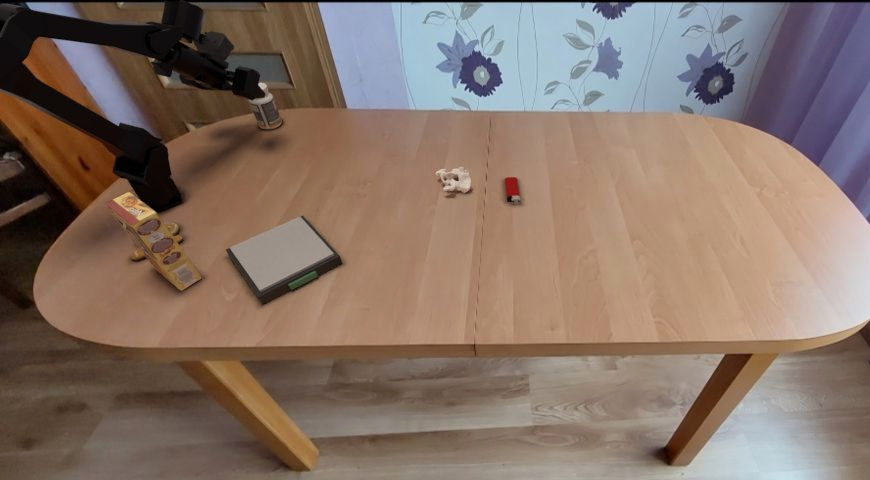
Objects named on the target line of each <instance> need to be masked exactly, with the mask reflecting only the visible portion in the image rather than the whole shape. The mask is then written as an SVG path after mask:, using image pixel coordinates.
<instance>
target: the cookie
mask: <svg viewBox="0 0 870 480" xmlns="http://www.w3.org/2000/svg"><path fill="white" fill-rule="evenodd" d="M164 224H165V225H166V227H167V228H168V230H169V231H170V232H171V234H172V235H173V237H174V238H175V240H176V241H177V243H178V244H180V243H181V242H182V241H183V237H182V235H178V233H179V232H180V227H179V225H178V224H177V223H176V222H164ZM129 257H130V259H131V260H132V261H139V260H143V259H144V258H146V256H145V255H144V254H143V253H142V252H141V250H140V249H139V248H138V249H137V250H135V251H134V252H132V253H131V254H130V256H129Z"/></svg>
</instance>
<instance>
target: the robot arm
mask: <svg viewBox="0 0 870 480" xmlns="http://www.w3.org/2000/svg"><path fill="white" fill-rule="evenodd" d="M163 3H164V6H163V12H162V15H161V21H160V22H158V21H157V22H156V21H151V20H149V21H145V22H140V21H135V20H128V19H124V20H121V19H119V20H116V19H115V20H114V19H113V20H112V19H111V20H104V21H103V20H101V21H100V20H99V21H98V20H93V19H92V20H91V19H85V18H79V17H74V16H69V15H64V14H57V13H52V12H47V11H41V10H35V9H31V8H30V7H26V6H21V5H16V4H10V3H1V4H0V93H2V94H4V95H5V94H6V95H8V96H11V97H14V98H16V99H17V100H19V101H21V102H23V103H25V104H27V105H29V106H31V107H33V108H35V109H36V110H39V111H40V112H42V113H44V114H46V115H48V116H50V117H52V118H54V119H55V120H57V121H60V122H61V123H63V124H65V125H67V126H69V127H70V128H73V129H74V130H76V131H79V132H81V133H82V134H84V135H86V136H88V137H89V138H92V139H94V140H95V141H98V143H100V144H102V145H103V146H104V148H105V149H106V150H107V151H108V152H109V153H111V154H112V155H113V156H114V157H115V158H114V162H113V166H112V174H114V175H115V176H116V177H118V178H119V179H122V180H127V182H128V184H129V186H130V187H131V188H132V190H133V192H134V193H135V194H136V197H137V198H138V199H139V200H141V201H142V202H144V203H145V204H146V205H147V206H149V207H150V208H152V209H153V210H154V211H155V212H157V213H159V212H161V211H164V210H166V209H170V208H172V207H176V206H177V205H180V204H182V203H184V200H183V198H182V197H181V196H182V192H181V191H180V190H179V188H178V186H177V184H176V182H175V181H174V179H173V178H172V175H173V174H172V168H171V164H170V159H169V155H170V154H169V148H168V147H167V145H165V144H164V143H163V142H162V141H163V138H160V137H156V136H154V135H153V134H152V133H151V132H149V131H148V130H146V128H143V127H140V126H135V125H132V124H129V123H124V122H119V123H118V124H116V123H115V122H112V121H111V120H109V119H108V118H105V117H104V116H102V115H100V114H98V113H97V112H96V111H93V110H92V109H90V108H88V107H87V106H85V105H83V104H81V103H80V102H78V101H77V100H75V99H73V98H71V97H70V96H67V95H66V94H64V93H62V92H61V91H59V90H57V89H56V88H54V87H52V86H50V85H48V84H47V83H45V82H44V81H42V80H41V79H40V78H38V77H37V76H36V75H35V74H34V73H33V71H32V70H31V69H29V67H28V66H27V65H26V64H25V63H24V61H26V59H28V57H29V55H30V54H31V53H30V52H31V50H32V48H33V45H34V44H35V41H36V40H37V39H39V38H44V39H45V38H46V39H52V40H60V41H67V42H74V43H83V44H91V45H97V46H104V47H109V48H111V49H113V50H117V51H120V52H124V53H126V54H130V55H134V56H139V57H143V58H149V59H153V60H152V61H150V64H151V66H152V69H153V72H154V74H155V75H157V76H161V77H165V78H172V74H173V72H176V73H177V74H179V76H178V78H179V80H180V82H181V84H183V85H185V86H187V87H191V88H195V89H198V90H199V89H200V90H203V91H221V92H222V91H223V92H225V91H228V92H231V93H232V94H233V96H235V97H238V98H240V99H244V100H248V101H249V100H254V99H256V98H265V92H264V91H263V90H262V89H261V88H260V86H259V85H258V84H259V83H260V80H261V74H260V72H259V71H257V70H256V69H254V68H251V67H246V66H241V65H239V66H237V67H235V69H234V71H232V70H228V69H229V65H230V63H229V62H228V61H226V60H227V59H228V57H229V56H230V54H231V52H232V51H234V49H235V45H234V44H233V43H232V41H231V40H230V39H229V38H228V37H227V35H225V33H223V32H218V31H213V30H211V31H204V32H202V27H203V24H204V19H205V14H206V11H205V10H204V9H203V8H201V6H198V5H197V4H193V3H190V2H188V1H186V0H180V1H176V2H167V1H165V0H164V2H163ZM183 42H184V43H183ZM185 43H186V44H185ZM187 44H193V45H194V47H195V48H196V49H195V48H193V47H191V46H189V45H187Z"/></svg>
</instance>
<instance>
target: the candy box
mask: <svg viewBox="0 0 870 480" xmlns="http://www.w3.org/2000/svg"><path fill="white" fill-rule="evenodd" d="M104 207H106V209H107V211H109V213H110V214H111V215H112V217H113V218H114V219H115V221H117V223H118V224H119V226H121V228H122V229H123V231H124V232H125V233H126V234H127V235H128V237H129V239H131V241H132V242H133V243H134V244H135V246H136V247H137V248H138V250H139V249H140V250H141V252H142V253H143V254H144V255H145V256H146V257H145V258H146V259H147V261H148V262H149V263H150V264H151V265H152V266H153V268H154V269H155V270H156V271H157V272H158V273H159V274H160V275H161V276H162V277H163V278H165V279H166V280H167V281H168V282H169V283H170V284H172V285H173V286H174V287H175V288H176V289H178V290H179V291H181V292H182V291H184V290H185V289H187V288H188V287H191V286H192V285H193V284H195V283H196V282H198V281H200V280H201V279H202V276H201V274H200V273H199V271H198V270H197V269H196V267H195V266H194V264H193V263H192V261H191V259H190V258H189V257H188V256H187V254H186V253H185V251H184V250H183V248H182V247H181V245H180V243H177V241H176V240H175V238H174V237H173V235H172V234H171V232H170V231H169V230H168V228H167V227H166V225H165V224H164V223H165V222H164V221H163V220H162V218H161V217H160V215H159V213H158V212H155V211H154V210H153V209H152V208H150V207H149V206H147V205H146V204H145V203H144V202H142V201H141V200H140V199H139V197H138V196H136V195H134V194H133V193H132V192H130V191H127V192H125V193H123V194H121V195H119V196H117V197H115V198H113V199H111V200H108V201H107V202H104Z"/></svg>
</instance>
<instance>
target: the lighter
mask: <svg viewBox="0 0 870 480" xmlns="http://www.w3.org/2000/svg"><path fill="white" fill-rule="evenodd" d="M504 185H505V195H506V201H507V202H508V203H511V204H512V205H520V204H521V196H520V189H519V182H518V178H517V177H515V176H507V177H505V178H504Z"/></svg>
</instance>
